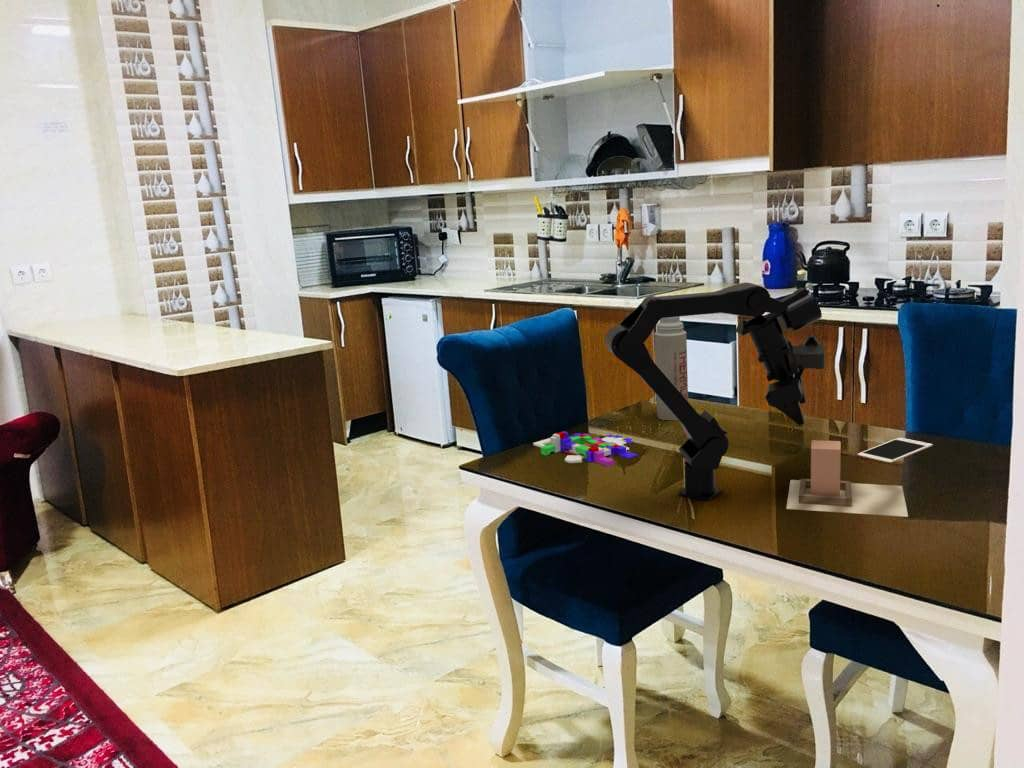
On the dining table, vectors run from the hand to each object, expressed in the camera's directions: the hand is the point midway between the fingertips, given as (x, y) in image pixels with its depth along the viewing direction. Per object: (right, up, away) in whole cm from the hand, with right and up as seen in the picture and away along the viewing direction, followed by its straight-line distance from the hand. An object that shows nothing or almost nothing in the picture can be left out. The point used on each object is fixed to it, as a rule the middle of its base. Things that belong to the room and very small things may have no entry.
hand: (802, 413), depth 162 cm
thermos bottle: (-15, -3, +54) cm, 56 cm away
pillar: (+2, -15, -6) cm, 17 cm away
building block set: (-38, -10, +35) cm, 52 cm away
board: (+5, -16, -7) cm, 19 cm away
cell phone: (+26, -9, +18) cm, 33 cm away
